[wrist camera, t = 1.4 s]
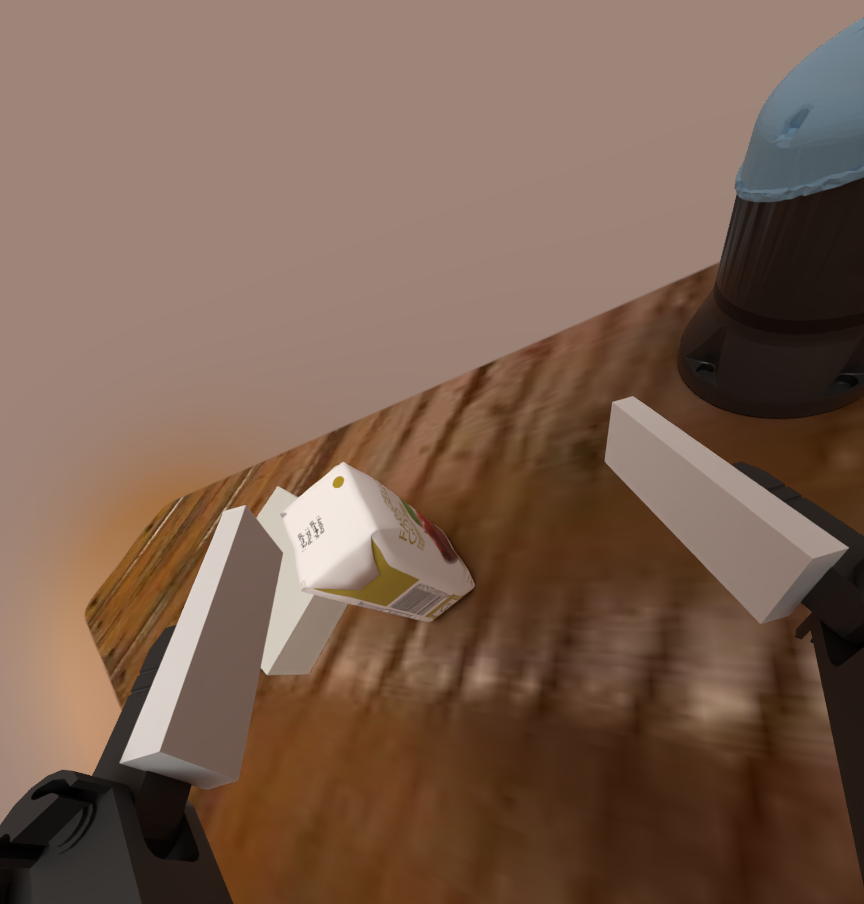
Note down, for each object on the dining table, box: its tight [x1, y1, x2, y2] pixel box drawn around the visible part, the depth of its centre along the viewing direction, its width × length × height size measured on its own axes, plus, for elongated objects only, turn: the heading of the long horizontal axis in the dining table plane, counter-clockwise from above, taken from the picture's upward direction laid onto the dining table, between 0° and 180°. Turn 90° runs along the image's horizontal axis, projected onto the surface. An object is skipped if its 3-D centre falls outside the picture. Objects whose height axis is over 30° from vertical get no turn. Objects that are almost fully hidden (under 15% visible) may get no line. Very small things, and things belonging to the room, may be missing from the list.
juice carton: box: [280, 462, 475, 622], centre depth 31 cm, size 8×9×19 cm
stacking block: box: [256, 487, 348, 675], centre depth 44 cm, size 16×16×6 cm
